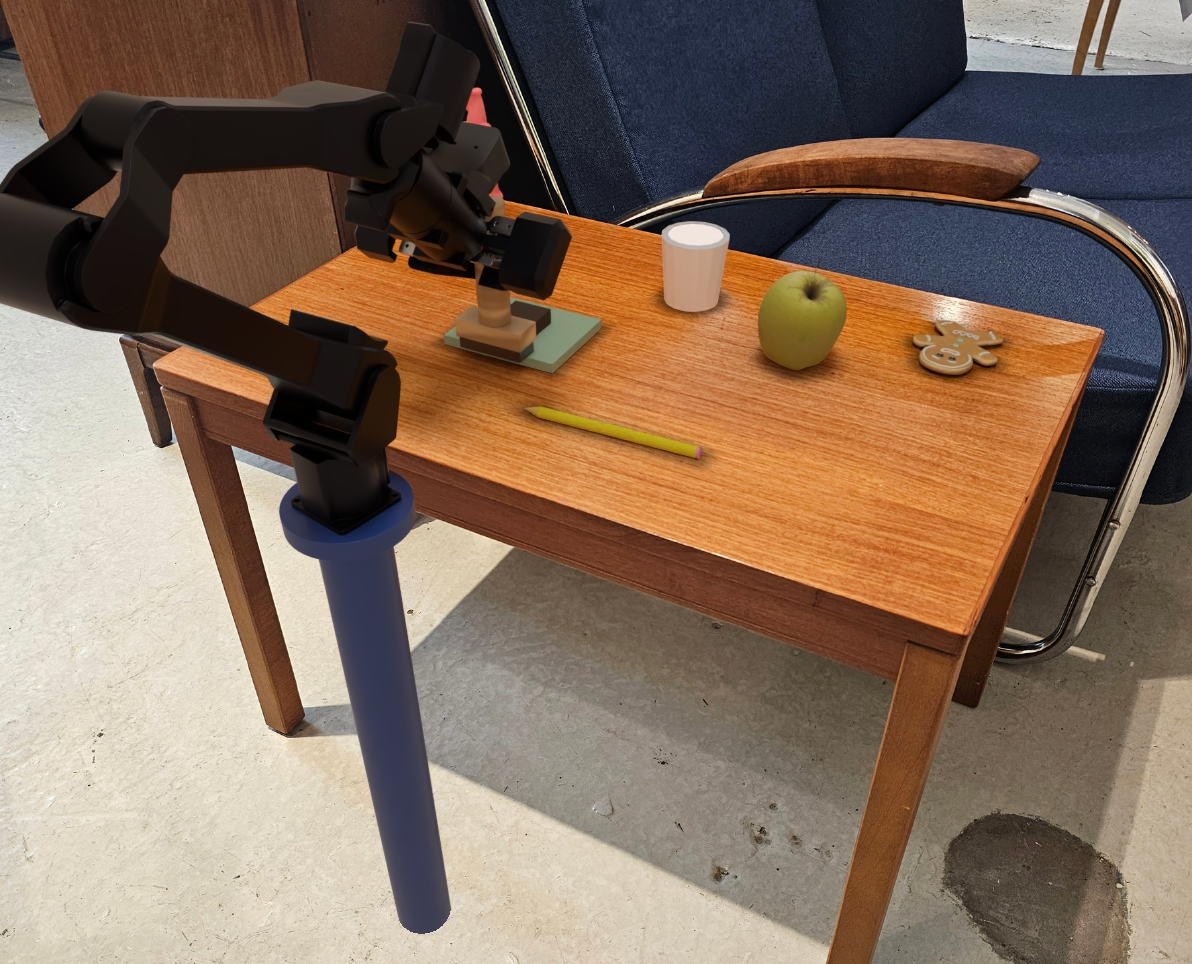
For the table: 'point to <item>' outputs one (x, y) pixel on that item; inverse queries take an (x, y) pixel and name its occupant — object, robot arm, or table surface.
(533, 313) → the dark brown square block
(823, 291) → the apple
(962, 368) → the cookie
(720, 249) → the white cup
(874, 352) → the table surface
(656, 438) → the pencil
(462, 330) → the wooden rubber stamp
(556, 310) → the mat
